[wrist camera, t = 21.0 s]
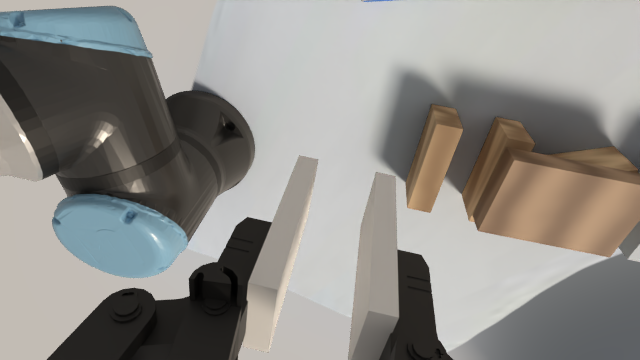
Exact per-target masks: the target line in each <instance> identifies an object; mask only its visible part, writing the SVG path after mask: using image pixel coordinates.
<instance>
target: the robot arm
mask: <svg viewBox="0 0 640 360" xmlns="http://www.w3.org/2000/svg"><path fill="white" fill-rule="evenodd" d="M151 58H152V54H151V53H150V52H149V51H148V50H147V47H146V45H145V42H144V40H143V37H142V35H141V33H140V30H139V28H138V25H137V23H136V21H135V19H134V18H133V17H132V16H131V14H129V13H128V12H127V11H125V10H124V9H122V8H119V7H116V6H99V7H81V8H63V9H47V10H46V9H45V10H28V11H10V12H0V176H13V177H18V178H22V179H27V180H31V181H39V180H42V179H44V178H47V177H49V176H51V175H53V174H56V176H57V178H58V180H59V181H60V183H61V185H62V187H63V188H64V190H65V192H66V194H67V198H65V199H63V200H62V201H61V202H60V203H59V204H58V206H57V209H56V210H55V212H54V217H53V219H52V225H53V229H54V231H55V233H56V236H57V237H58V239H59V240H60V242H61V243H62V244H63V245H64V246H65V247H66V248H67V250H69V251H70V252H71V253H72V254H73V255H75V256H76V257H77V258H79V259H80V260H82V261H83V262H85V263H87V264H88V265H90V266H92V267H95V268H97V269H99V270H101V271H104V272H107V273H109V274H113V275H116V276H121V277H128V278H144V277H151V276H154V275H157V274H159V273H161V272H163V271H165V270H166V269H167V268H169V267H170V265H171V264H172V263H173V262H174V260H175V259H176V258H177V256H178V255H179V254H180V253H181V252H182V251H183V250H184V249H186V247H187V245H188V242H189V241H190V239H191V237H192V236H193V234H194V233H195V231H196V229H197V228H198V226H199V225H200V223H201V221H202V220H203V218H204V216H205V215H206V213H207V212H208V210H209V208H210V207H211V205H212V204H213V202H214V200H215V199H216V197H217V196H218V195H220V194H222V193H223V192H225V191H226V190H229V189H231V188H232V187H234V186H236V185H237V184H238V183H239V182H240V181H241V180H242V179H243V178H244V177H245V175H246V174H247V172H248V170H249V169H250V167H251V165H252V162H253V159H254V154H255V144H254V139H253V135H252V132H251V130H250V128H249V126H248V124H247V122H246V121H245V119H244V118H243V117H242V115H241V114H240V113H239V112H238V111H237V110H236V109H235V108H234V107H233V106H231V105H230V104H229V103H227V102H226V101H224V100H223V99H221V98H219V97H217V96H215V95H212V94H209V93H206V92H201V91H184V92H179V93H176V94H174V95H172V96H170V97H168V98H167V99H165V96H164V93H163V91H162V88H161V85H160V82H159V79H158V76H157V73H156V70H155V68H154V65H153V62H152V59H151ZM317 164H318V159H313V158H309V157H304V156H300V155H299V157H298V160H297V162H296V165H295V167H294V170H293V172H292V175H291V177H290V180H289V182H288V185H287V187H286V190H285V192H284V195H283V197H282V200H281V202H280V205H279V207H278V209H277V212H276V214H275V217H274V219H273V222H267V221H263V220H258V219H254V218H249V217H247V218H246V219H244V220H243V221H242V222H240V223H239V224H238V225H237V226H236V227H235V229H234V231H233V233H232V235H231V238H230V239H229V241H228V243H227V245H226V248H225V249H224V250H223V252H222V254H221V256H220V258H219V260H218V262H213V263H209V264H206V265H203V266H201V267H199V268H198V269H196V270H195V271H194V272H193V273H192V275H191V276H190V278H189V291H190V296H189V297H185V298H182V299H174V300H157V301H155V299H154V298H153V296H152V294H151V293H148V292H147V291H146V290H144V289H137V288H130V289H123V290H120V291H118V292H115V293H113V294H111V295H110V296H109V297H107V298H106V299H105V300H103V301H102V303H100V305H99V306H98V307H97V308H96V309H95V310H94V311H93V312H92V313H91V314H90V315H89V316H88V317H87V318H86V319H85V320H84V321H83V322H82V323H81V324H80V325H79V327H77V329H76V330H75V331H74V332H73V333H72V334H71V335H70V336H69V337H68V338H67V339H66V340H65V341H64V342H63V343H62V344H61V345H60V346H59V347H58V348H57V349H56V351H55V352H54V353H53V354H52V355H51V356H50V357H49V358H48V359H47V360H238V353H239V350H240V348H241V345H242V342H243V347H246V348H250V349H255V350H259V351H263V352H267V353H268V352H269V349H270V346H271V342H272V339H273V335H274V332H275V328H276V325H277V321H278V318H279V314H280V311H281V308H282V304H283V300H284V297H285V293H286V290H287V287H288V283H289V280H290V276H291V273H292V269H293V266H294V262H295V259H296V255H297V252H298V248H299V245H300V241H301V238H302V234H303V231H304V227H305V224H306V220H307V217H308V213H309V208H310V202H311V197H312V191H313V186H314V180H315V175H316V169H317ZM431 292H432V290H431V283H430V273H429V267H428V265H427V264H426V262H425V260H424V259H423V257H422V255H419V254H415V253H410V252H406V251H401V250H397V218H396V178H395V176H392V175H388V174H383V173H378V172H376V174H375V178H374V181H373V185H372V188H371V192H370V195H369V199H368V202H367V206H366V209H365V213H364V216H363V220H362V223H361V230H360V240H359V250H358V261H357V271H356V282H355V292H354V302H353V313H352V324H351V334H350V344H349V354H348V360H453V359H452V358H451V357H450V356H449V355H448V354H447V353H446V350H445V348H444V347H443V345H442V343H441V342H440V341H439V340H438V337H437V332H436V324H435V315H434V307H433V298H432V294H431Z"/></svg>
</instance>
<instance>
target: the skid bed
mask: <svg viewBox="0 0 640 360" xmlns="http://www.w3.org/2000/svg"><path fill="white" fill-rule="evenodd" d="M462 132H463V127H462V124H461V122H460V119H459V116H458V114H457V111H456V109H454V108H449V107H444V106H439V105H434V104H432V105H431V108H430V111H429V114H428V117H427V120H426V123H425V126H424V129H423V132H422V135H421V138H420V141H419V144H418V147H417V150H416V153H415V156H414V159H413V162H412V165H411V168H410V171H409V174H408V177H407V180H406V196H407V208H410V209H415V210H420V211H424V212H429V213H431V210H432V207H433V205H434V202H435V200H436V197H437V195H438V192H439V190H440V187H441V185H442V182H443V180H444V177H445V175H446V172H447V170H448V167H449V165H450V162H451V160H452V157H453V154H454V152H455V149H456V147H457V144H458V142H459V139H460V137H461V134H462ZM534 146H535V143H534V141H533V140H532V138H531V137H530V135H529V134H528V132H527V131H526V130H525V128H524V127H523V125H522V124H521V122H519V121H514V120H509V119H504V118H499V117H496V118H495V120H494V122H493V124H492V127H491V129H490V131H489V134H488V136H487V138H486V140H485V143H484V145H483V147H482V149H481V152H480V154H479V156H478V159H477V161H476V163H475V165H474V168H473V170H472V172H471V175H470V177H469V179H468V181H467V184H466V186H465V188H464V190H463V193H462V197H463V201H464V204H465V208H466V212H467V215H468V219H469V221H471V222H475V221H474V218H473V214H474V212H475V210H476V208H477V205H478V203H479V201H480V199H481V197H482V195H483V193H484V191H485V189H486V187H487V185H488V183H489V181H490V179H491V177H492V175H493V173H494V171H495V169H496V167H497V165H498V163H499V161H500V159H501V157H502V154H503V152H504V150H505V148H506V147H510V148H515V149H520V150H525V151H530V152H531V151H532V149H533V148H534Z"/></svg>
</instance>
